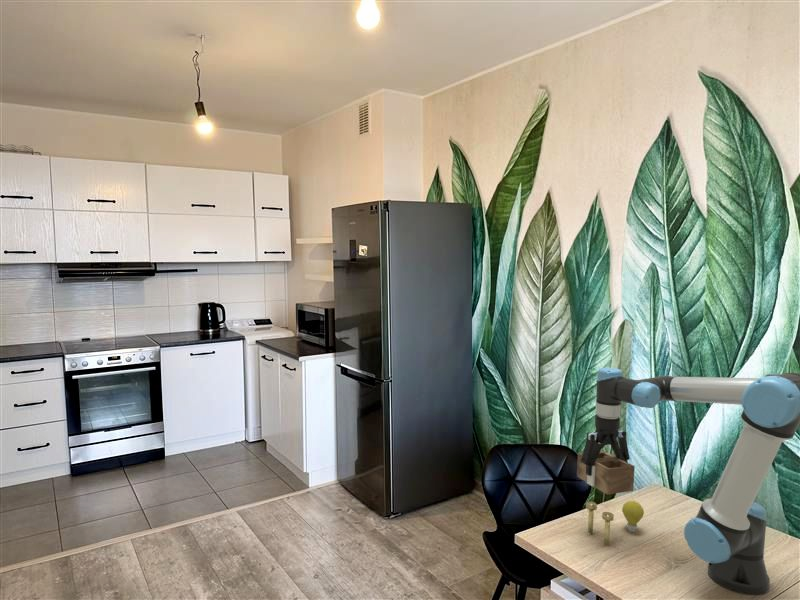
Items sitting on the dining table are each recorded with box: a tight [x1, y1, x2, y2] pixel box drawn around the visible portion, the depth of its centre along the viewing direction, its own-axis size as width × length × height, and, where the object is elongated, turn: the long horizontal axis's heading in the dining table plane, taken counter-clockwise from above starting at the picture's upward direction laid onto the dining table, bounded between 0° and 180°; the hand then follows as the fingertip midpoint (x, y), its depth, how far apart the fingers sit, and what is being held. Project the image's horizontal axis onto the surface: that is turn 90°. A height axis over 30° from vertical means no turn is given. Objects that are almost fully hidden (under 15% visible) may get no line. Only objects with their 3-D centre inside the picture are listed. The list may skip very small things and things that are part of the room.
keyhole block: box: [576, 449, 635, 495], centre depth 180 cm, size 15×10×8 cm, turn 19°
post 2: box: [601, 511, 615, 547], centre depth 177 cm, size 3×3×10 cm
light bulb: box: [621, 500, 645, 533], centre depth 187 cm, size 7×7×10 cm
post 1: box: [585, 501, 598, 535], centre depth 185 cm, size 3×3×10 cm
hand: (604, 482), depth 180 cm, fingers closed on keyhole block, 10 cm apart
